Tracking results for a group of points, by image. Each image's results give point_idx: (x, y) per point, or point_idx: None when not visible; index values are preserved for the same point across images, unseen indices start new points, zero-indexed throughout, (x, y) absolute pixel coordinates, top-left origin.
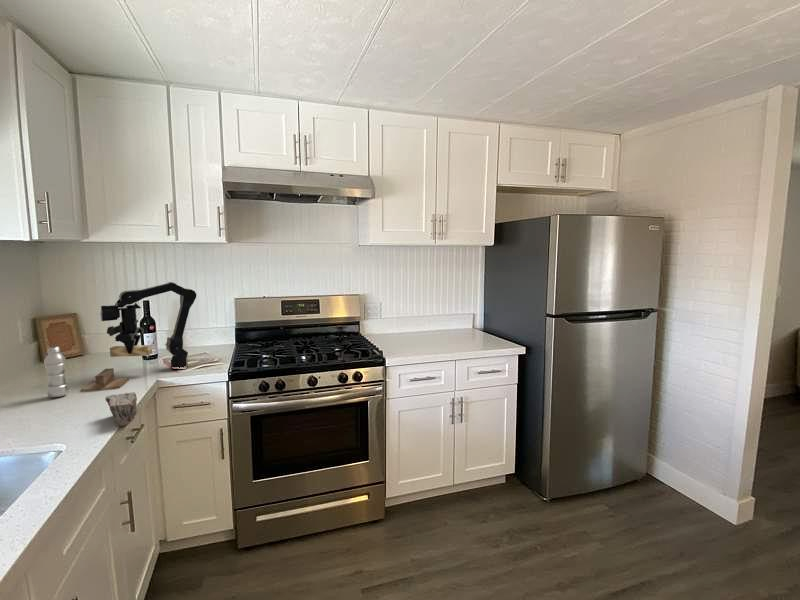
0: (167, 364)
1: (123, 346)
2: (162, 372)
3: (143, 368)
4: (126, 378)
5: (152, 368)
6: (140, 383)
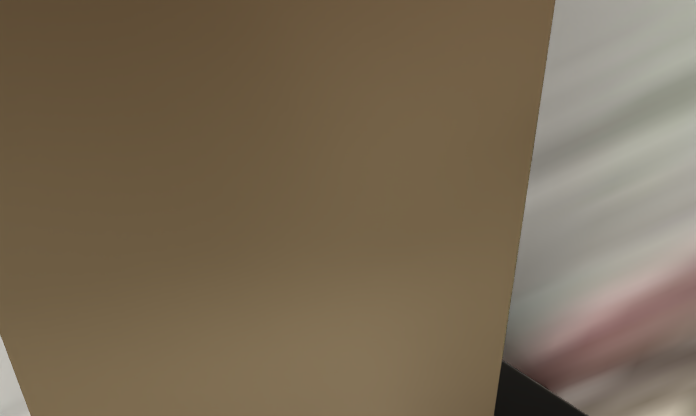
0: (667, 289)
1: (346, 264)
2: None
3: (595, 117)
4: None
5: (562, 216)
6: (6, 362)
